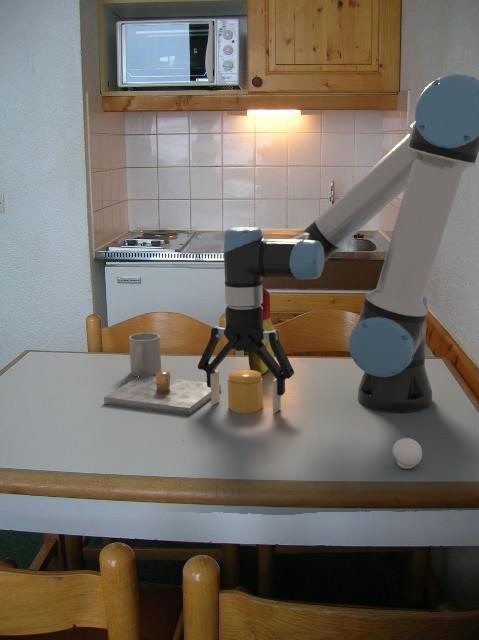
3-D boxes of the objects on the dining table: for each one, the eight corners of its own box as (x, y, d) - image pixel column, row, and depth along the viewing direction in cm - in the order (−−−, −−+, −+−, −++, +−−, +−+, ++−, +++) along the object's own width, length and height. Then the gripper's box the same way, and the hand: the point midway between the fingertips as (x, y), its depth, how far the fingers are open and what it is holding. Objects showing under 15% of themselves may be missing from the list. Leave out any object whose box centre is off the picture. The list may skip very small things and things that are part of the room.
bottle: (269, 378, 171) (268, 293, 167) (242, 377, 173) (240, 292, 168) (278, 363, 183) (277, 283, 178) (253, 362, 184) (251, 283, 179)
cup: (164, 368, 180) (162, 333, 178) (154, 381, 171) (152, 344, 169) (135, 367, 181) (133, 332, 179) (123, 380, 172) (121, 343, 170)
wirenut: (266, 403, 155) (265, 371, 153) (254, 414, 149) (254, 381, 147) (237, 400, 157) (236, 368, 155) (224, 410, 151) (223, 377, 150)
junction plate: (221, 390, 163) (220, 366, 162) (189, 414, 149) (188, 388, 148) (141, 381, 171) (140, 358, 170) (104, 403, 156) (102, 378, 155)
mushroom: (393, 459, 126) (394, 432, 125) (422, 462, 125) (423, 434, 124) (390, 471, 122) (391, 443, 121) (420, 475, 120) (421, 446, 119)
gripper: (309, 305, 147) (309, 406, 152) (195, 297, 156) (198, 393, 161) (297, 313, 140) (297, 419, 145) (179, 305, 149) (183, 404, 154)
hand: (245, 406), depth 153 cm, fingers open, 13 cm apart
